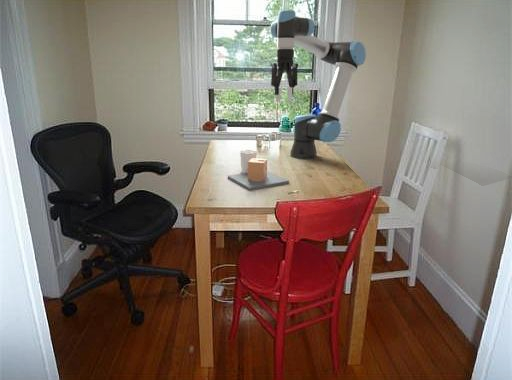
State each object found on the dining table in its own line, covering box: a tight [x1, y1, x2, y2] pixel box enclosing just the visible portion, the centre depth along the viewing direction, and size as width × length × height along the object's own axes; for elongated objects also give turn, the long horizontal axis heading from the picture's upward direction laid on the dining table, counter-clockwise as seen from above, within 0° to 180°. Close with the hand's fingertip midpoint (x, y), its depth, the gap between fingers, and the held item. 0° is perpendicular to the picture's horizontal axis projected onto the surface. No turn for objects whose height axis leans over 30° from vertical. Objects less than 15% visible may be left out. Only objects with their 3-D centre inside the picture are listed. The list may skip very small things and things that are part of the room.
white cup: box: [239, 149, 258, 173], centre depth 174 cm, size 8×8×10 cm
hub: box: [227, 170, 290, 191], centre depth 161 cm, size 20×20×5 cm
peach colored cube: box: [248, 157, 268, 181], centre depth 160 cm, size 7×7×8 cm
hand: (283, 101), depth 169 cm, fingers open, 6 cm apart
